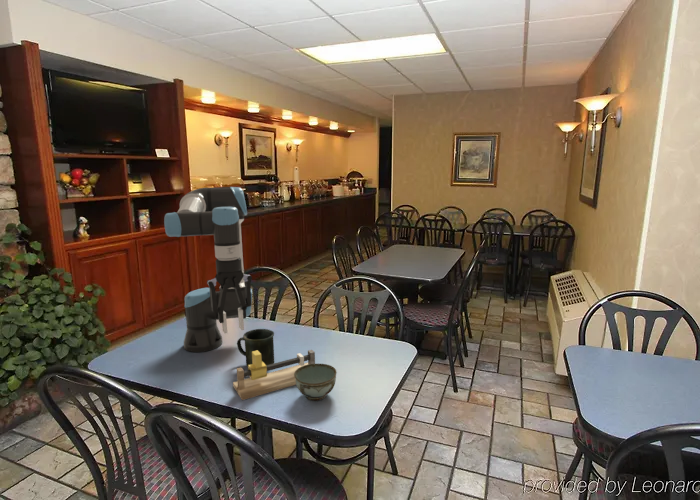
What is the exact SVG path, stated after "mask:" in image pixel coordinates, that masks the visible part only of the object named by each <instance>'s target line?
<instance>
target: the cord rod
mask: <svg viewBox="0 0 700 500" xmlns="http://www.w3.org/2000/svg"><path fill="white" fill-rule="evenodd" d="M303 356H304V362H306V361H307V362H308V360H310V356H309V355H308V354H305V355H303ZM298 363H300V359H299V358H298V357H297V356H296V357H294V358H290V359H285V360H282V361H278V362H274V364H270V365H266V366H267V372H269V371H270V372H271V371H273V370H277V369H281V368H284V367H288V366H289V367H290V366H292V365H295V364H296V365H297V364H298ZM249 376H251V370H248V369H247V370H244V378H246V377H249Z"/></svg>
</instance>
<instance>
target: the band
mask: <svg viewBox="0 0 700 500" xmlns="http://www.w3.org/2000/svg"><path fill="white" fill-rule="evenodd" d="M304 356H305V355H303V354H302V353H300V352H299V353H296V358H297V357H298V358H299V359H300V363H297V364H298V365H301V366H303V365H304V363H305V361H304Z"/></svg>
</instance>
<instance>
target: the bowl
mask: <svg viewBox="0 0 700 500" xmlns="http://www.w3.org/2000/svg"><path fill="white" fill-rule="evenodd" d="M337 373H338V372H337V369H336V368H335V367H334V366H332V365H330V364H326V363H315V364H308V365H305V366H302V367H300V368H298V369H297V370H296V371H295V373H294V377H295V380H296V385H295V386H296V387H297V389H298V391H299V392H300V394H302V395H303V396H305V397H306V399H308V400H309V401H312V402H313V401H314V402H316V401H317V402H319V401H321V400H324V399H325V398H326V396H327V395H328V394H330V393H331V391H333V389H334V387H335V385H336V379H337Z"/></svg>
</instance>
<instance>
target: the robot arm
mask: <svg viewBox="0 0 700 500" xmlns="http://www.w3.org/2000/svg"><path fill="white" fill-rule="evenodd" d="M243 190H244V189H242V187H239V186H218V187H217V186H214V187H200V188H196V189H193V190H191V191H189V192H187V193H185V194H184V195H183V196H182V197H181V198H180V201H179V209H178V210H177V212H175V211H173V212H167V213H165V214H164V219H163V220H164V221H163V223H164V230H165V231H164V232H165V235H166V236H167V237H170V238H172V237H177V238H180V237H195V236H197V237H198V236H213V239H214V242H213V243H214V244H213V245H214V256H215V258H216V260H215V270H216V271H215V272H216V274H215V277H214V278H212V279H207V281H206V285H208V287H202V288H198V289H195V290H191V291H190V292H188V293H187V294H186V295H185V296H184V306H183V307H184V312H185V321H186V332H185V336H184V340H183V348H184V350H185V351H187V352H191V353H203V352H208V351H212V350H215V349H217V348H219V347H220V346H222V345H223V336H222V334H221V332H220V329H219V328H218V327H219V326H218V325H217V321H218V322H219V324H221V325H222V326H221V327H222V332H223V333H224V334H225V335H226V334H228V323H227V322H228V321H227V320H228V319H238V328H239V329H240V331H244V330H245V326H244V325H245V323H244V322H245V321H244V319H247V317H249V316H250V314H251V313H252V303H253V289H252V288H251V287H252V285H251V282H252V280H253V276H252V275H250V274H246V273H245V269H244V257H243V255H244V254H243V242H242V241H243V240H242V239H243V238H242V223H243V222H244V221H245V216H247V215H248V210H247V209H248V208H247V204H246V203H247V202H246V200H245V199H246V197H245V193H244V191H243ZM217 283H218V284H219V285H220V286H219V291H217V290H216V286H217Z"/></svg>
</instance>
